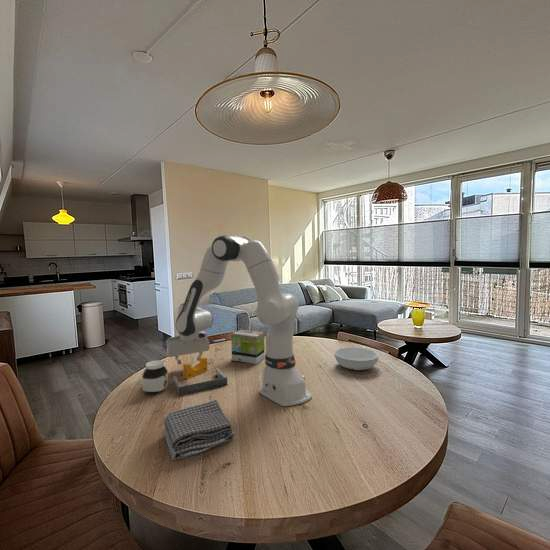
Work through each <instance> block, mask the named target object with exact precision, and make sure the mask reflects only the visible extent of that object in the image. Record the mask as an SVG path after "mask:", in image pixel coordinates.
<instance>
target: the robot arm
mask: <svg viewBox="0 0 550 550" xmlns="http://www.w3.org/2000/svg"><path fill="white" fill-rule="evenodd" d="M240 261H242V262H243V264H244V265H245V268H246V271H247V272H248V274H249V277H250V279H251V282H252V284H253V286H254V289H255V294H256V300H257V301H256V302H257V306H256V310H255V311H256V313H255V314H256V316H257V319H258V321H259V322H260V323H262V324H263V325H265V326H269V327H268V330H267V332H266V335H265V351H266V352H265V354H264V361H265V362H264V364H265V367H264V369H263V371H262V376H261V387H260V388H259V389H258V393H259V394H261V395H262V396H263V397H265V398H267V399H269V400H271V401H273V402H274V403H276V404H277V405H279V406H281V407H289V406H296V405H300V404H303V403H306V402H308V401H310V400H311V399H313V395H312V393H311V392H310V391H309V390H308V389H307V387H306V382H305V380H306V377H305V375H303V374H301V373H300V370H299V369H298V367H297V366H296V363H297V360H296V358H295V354H294V345H293V344H294V330H295V325H296V318H297V313H298V310H299V305H300V303H299V300H298V298H297V297H296V296H295V295H294V294H292V293H288V292H282V291H281V288H280V275H279V273H278V271H277V268H276V266H275V264H274V262H273V259H272V257H271V255H270V253H269V251H268V250H267V248H266V247H265V245H263V243H262V242H261V241H260V240H257V239H255V240H254V239H253V240H251V239H250V238H248V237H245V236H239V235H220V236H217V237H216V238H214V240H213V241H212V244H211V245H210V246H208V247H207V248H206V250H205V253H204V255H203V258H202V262H201V265H200V269H199V272H198V273H197V276H196V278H195V279H194V281H193V282H192V283H191V285H190V287H189V290H188V292H187V294H186V297H185V300H184V302H183V303H181V304H180V305H179V306H178V310H177V311H178V312H177V314H178V315H177V317H176V320H175V328H176V331H177V332H178V335H177V336H176V335H175V336H170V337H169V338H167V339H166V341H165V346H166V355H167V357H169V358H172V357H174V359H175V360H176V362H177V363H176V364H177V365H181V364H182V361H181V359H179V356H183V355H184V356H185V355H190V354H199V355H198V356H196V362H200V358H202V357H203V352H208V351H209V350H210V341H209V339H208V333H207V332H206V330H208V329H210V328H211V327H212V326H213V323H214V316H213V314H212V313H211V311H209V310H207V309H204V308H203V307H200V306H199V304H200V301H201V299H202V298H203V297H204V296H205V295H206V294H207V293H209V292H211V291H213V290H215V289H216V288H218V287H219V286H220V285H221V284H222V282H223V280H224V278H225V273H226V270H227V265H228V263H229V262H240Z"/></svg>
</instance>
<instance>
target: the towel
mask: <svg viewBox="0 0 550 550" xmlns="http://www.w3.org/2000/svg"><path fill="white" fill-rule="evenodd" d="M228 419H229V418H227V417H226V415H225V413H224V412H223V409H222V407H221V406H220V404H219V401H218V400H216V399H215V400H210V401H208V402H204V403H201V404H197V405H192V406H189V407H187V408H186V407H185V408H183V409H178V410H174V411H173V412H171V411H170V412H169V413H168V414H167V415H166V417H165V418H164V419H163V422H164V429H163V433H164V436H165V439H166V444H167V446H168V448H169V451H170V454H171V459H172V461H179V460H183V459H186V458H189V457H192V456H194V455H198V454H201V453H203V452H205V451H207V450H210V449H212V448H214V447H218V446H220V445H222V444H226V443H229V442H232V441H233V440H234V437H235V435H236V434H235V432H234V431H233V428H232V427H233V426H232V424H231V422H230V421H229V420H228Z"/></svg>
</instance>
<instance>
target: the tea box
mask: <svg viewBox="0 0 550 550" xmlns="http://www.w3.org/2000/svg"><path fill="white" fill-rule="evenodd" d="M230 339H231V342H230V343H231V361H235V362H240V363H241V362H242V363H247V364H253V365H258V364H259V363H260V362H262V361H263V360H265V332H264V331H255V330H247V329H239V330H237V331H235V332H233V333H231V338H230ZM262 359H263V360H262ZM257 363H258V364H257Z"/></svg>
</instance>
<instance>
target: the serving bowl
mask: <svg viewBox="0 0 550 550" xmlns="http://www.w3.org/2000/svg"><path fill="white" fill-rule="evenodd" d="M334 358H335V360H336V362H337V363H338V364H339V365H340V366H341V367H343V368H346V369H349V370H352V369H353V371H365V370H369V369H372V368H374V367H375V365H377V363H378V361H379V353H377V352H375V351H374V350H371V349H369V348H368V349H367V348H362V347H354V346H353V347H340V348H338V349H336V350H334Z"/></svg>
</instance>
